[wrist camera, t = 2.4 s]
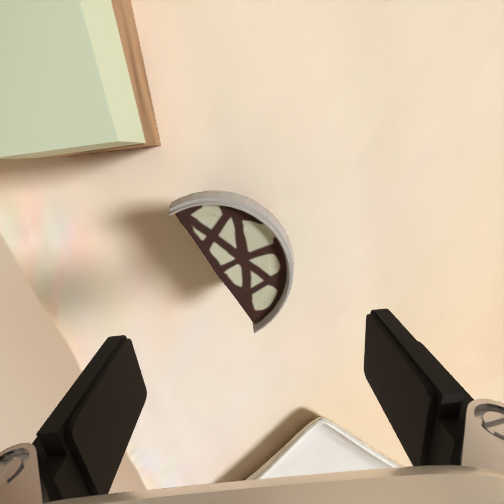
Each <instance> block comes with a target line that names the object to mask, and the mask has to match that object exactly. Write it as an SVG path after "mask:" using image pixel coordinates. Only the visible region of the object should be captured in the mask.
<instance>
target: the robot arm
mask: <svg viewBox="0 0 504 504" xmlns="http://www.w3.org/2000/svg"><path fill="white" fill-rule="evenodd" d="M364 373H365V376H366V379H367V381H368V382H369V384H370V386H371V388H372V390H373V392H374V394H375V396H376V397H377V399H378V401H379V403H380V405H381V407H382V409H383V411H384V412H385V414H386V416H387V418H388V420H389V422H390V424H391V425H392V427H393V429H394V431H395V433H396V435H397V437H398V439H399V440H400V442H401V444H402V446H403V448H404V450H405V452H406V453H407V455H408V457H409V459H410V461H411V463H412V465H413V466H411V467H396V468H381V469H368V470H356V471H345V472H334V473H322V474H311V475H299V476H288V477H277V478H266V479H255V480H245V481H234V482H224V483H213V484H202V485H192V486H182V487H172V488H162V489H152V490H143V491H132V492H122V493H114V494H108V492H109V490H110V488H111V485H112V482H113V480H114V478H115V475H116V473H117V470H118V468H119V465H120V463H121V460H122V458H123V455H124V453H125V450H126V448H127V445H128V443H129V440H130V438H131V435H132V433H133V430H134V428H135V426H136V423H137V421H138V418H139V416H140V413H141V411H142V408H143V406H144V403H145V401H146V397H147V390H146V387H145V383H144V380H143V377H142V374H141V370H140V367H139V364H138V361H137V357H136V354H135V351H134V348H133V344H132V341H131V339H127V337H126V336H124V335H121V336H111V337H108V338H107V339H106V341H105V342H104V343H103V345H102V346H101V348H100V349H99V350H98V352H97V353H96V354H95V356H94V357H93V358H92V360H91V361H90V362H89V364H88V365H87V366H86V368H85V369H84V370H83V372H82V373H81V375H80V376H79V377H78V379H77V380H76V381H75V383H74V384H73V385H72V387H71V388H70V389H69V391H68V392H67V393H66V395H65V396H64V397H63V399H62V400H61V401H60V403H59V404H58V406H57V407H56V408H55V410H54V411H53V412H52V414H51V415H50V416H49V418H48V419H47V420H46V422H45V423H44V424H43V426H42V427H41V428H40V430H39V431H38V432H37V438H36V439H35V440H34V442H33V443H32V444H30V443H21V444H17V445H14V446H12V447H9V448H7V449H5V450H3V451H2V452H0V504H504V404H503V403H501V402H498V401H494V400H490V399H477V400H474V399H473V398H472V397H471V396H470V395H469V394H468V393H467V392H466V391H465V390H464V388H463V387H462V386H461V385H460V384H459V383H458V382H457V381H456V380H455V379H454V378H453V377H452V375H451V374H450V373H449V372H448V371H447V370H446V369H445V368H444V367H443V366H442V365H441V364H440V362H439V361H438V360H437V359H436V358H435V357H434V356H433V355H432V354H431V353H430V352H429V351H428V349H427V348H426V347H425V346H424V345H423V344H422V343H420V342H418V341H417V340H416V339H415V338H414V337H413V336H412V335H411V334H410V333H409V331H408V330H407V329H406V328H405V327H404V326H403V325H402V324H401V323H400V322H399V320H398V319H397V318H396V317H395V316H394V315H393V314H392V313H391V312H390V311H389V310H388V309H378V310H372V311H371V312H370V314H368V315H367V316H366V333H365V354H364Z"/></svg>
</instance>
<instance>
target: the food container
mask: <svg viewBox="0 0 504 504" xmlns="http://www.w3.org/2000/svg"><path fill="white" fill-rule="evenodd" d="M169 211H170V212H171V213H170V214H169V216H170V215H173V214H176V216H177V217H178V219H179V220H180V222H181V224H182V225H183V226H184V227H185V228H186V229H187V231H188V232H189V233H190V235H191V236H192V238H193V239H194V241H195V242H196V243H197V245H198V246H199V248H200V249H201V251H202V252H203V254H204V255H205V257H206V258H207V260H208V261H209V263H210V264H211V266H212V267H213V269H214V270H215V272H216V274H217V275H218V276H219V278H220V279H221V280H222V281H223V283H224V284H225V285H226V286H227V288H228V289H229V290H230V291H231V293H232V294H233V295H234V297H235V298H236V299H237V301H238V302H239V304H240V305H241V306H242V308H243V309H244V310H245V312H246V313H247V315H248V316H249V317H250V319H251V320H252V322H253V329H254V333H256V332H258V331H259V330H261V329H262V328H264V327H265V326H266V325H267V324H268V323H270V322H271V321H272V320H273V319H274V317H275V316H276V315H277V314H278V313H279V311H280V310H281V308H282V306H283V305H284V303H285V302H286V299H287V297H288V295H289V293H290V289H291V285H292V281H293V270H294V257H293V250H292V246H291V243H290V240H289V238H288V236H287V233H286V231H285V229H284V228H283V226H282V225H281V224H280V222H279V221H278V219H277V218H276V217H275V216H274V215H273V214H272V213H271V212H270V211H269V210H267V209H266V208H265V207H263V206H262V205H260V204H259V203H257V202H255V201H253V200H251V199H249V198H248V197H245V196H242V195H239V194H236V193H231V192H225V191H204V192H198V193H193V194H190V195H187V196H184V197H181V198H179V199H177V200H176V201H174V202H172V203H171V205H170V207H169Z"/></svg>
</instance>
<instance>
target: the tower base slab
mask: <svg viewBox="0 0 504 504" xmlns="http://www.w3.org/2000/svg"><path fill="white" fill-rule="evenodd" d="M111 2H112V7H113V11H114V15H115V19H116V23H117V27H118V31H119V35H120V39H121V44H122V48H123V52H124V56H125V60H126V64H127V68H128V72H129V76H130V80H131V85H132V89H133V93H134V97H135V101H136V105H137V109H138V113H139V117H140V122H141V126H142V130H143V134H144V138H145V142H146V143H142V144H134V145H127V146H120V147H112V148H105V149H98V150H90V151H83V152H76V153H68V154H61V155H54V156H46V157H61V156H75V155H84V154H92V153H101V152H109V151H118V150H126V149H135V148H144V147H152V146H161V143H160V138H159V133H158V129H157V124H156V119H155V114H154V110H153V105H152V100H151V95H150V90H149V86H148V81H147V76H146V71H145V67H144V62H143V57H142V52H141V47H140V43H139V38H138V33H137V28H136V24H135V19H134V14H133V9H132V5H131V0H111Z"/></svg>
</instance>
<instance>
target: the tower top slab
mask: <svg viewBox="0 0 504 504" xmlns="http://www.w3.org/2000/svg"><path fill="white" fill-rule="evenodd" d="M142 143H146V142H145V138H144V134H143V130H142V126H141V122H140V117H139V113H138V109H137V105H136V101H135V97H134V93H133V89H132V85H131V80H130V76H129V72H128V68H127V64H126V60H125V56H124V52H123V48H122V44H121V39H120V35H119V31H118V27H117V23H116V19H115V15H114V11H113V7H112V2H111V0H0V159H21V158H39V157H46V156H54V155H61V154H68V153H76V152H83V151H90V150H98V149H105V148H112V147H120V146H127V145H134V144H142Z"/></svg>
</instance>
